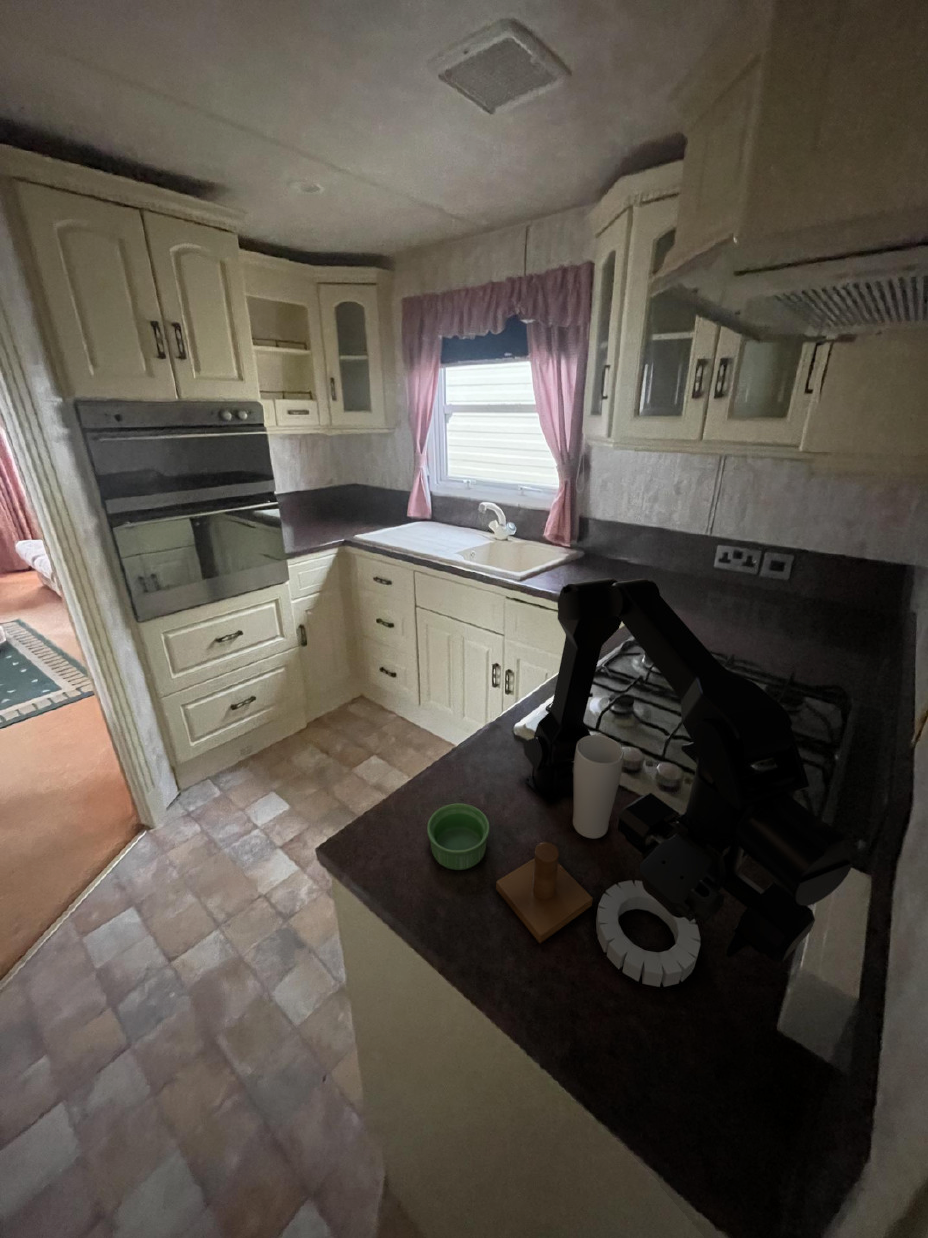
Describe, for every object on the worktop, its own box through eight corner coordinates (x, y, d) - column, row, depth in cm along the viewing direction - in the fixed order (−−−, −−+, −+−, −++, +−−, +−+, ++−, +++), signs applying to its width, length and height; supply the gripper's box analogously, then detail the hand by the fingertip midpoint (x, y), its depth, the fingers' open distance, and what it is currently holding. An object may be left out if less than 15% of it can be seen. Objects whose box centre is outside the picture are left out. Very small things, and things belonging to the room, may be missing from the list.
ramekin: (422, 831, 79) (421, 810, 77) (478, 819, 81) (478, 797, 79) (435, 881, 71) (434, 858, 69) (497, 865, 73) (498, 843, 71)
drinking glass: (605, 809, 82) (616, 733, 76) (618, 843, 76) (631, 764, 70) (563, 810, 82) (570, 734, 76) (573, 845, 76) (581, 765, 70)
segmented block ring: (576, 923, 65) (578, 910, 64) (638, 877, 71) (640, 865, 70) (653, 1009, 56) (657, 995, 55) (717, 948, 62) (721, 936, 61)
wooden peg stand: (495, 889, 70) (497, 843, 66) (545, 858, 74) (549, 814, 71) (539, 943, 63) (543, 896, 59) (591, 905, 67) (598, 859, 64)
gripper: (589, 789, 53) (576, 892, 60) (771, 936, 39) (728, 1050, 45) (658, 749, 59) (640, 847, 65) (840, 865, 44) (792, 976, 51)
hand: (690, 918), depth 57 cm, fingers open, 9 cm apart
